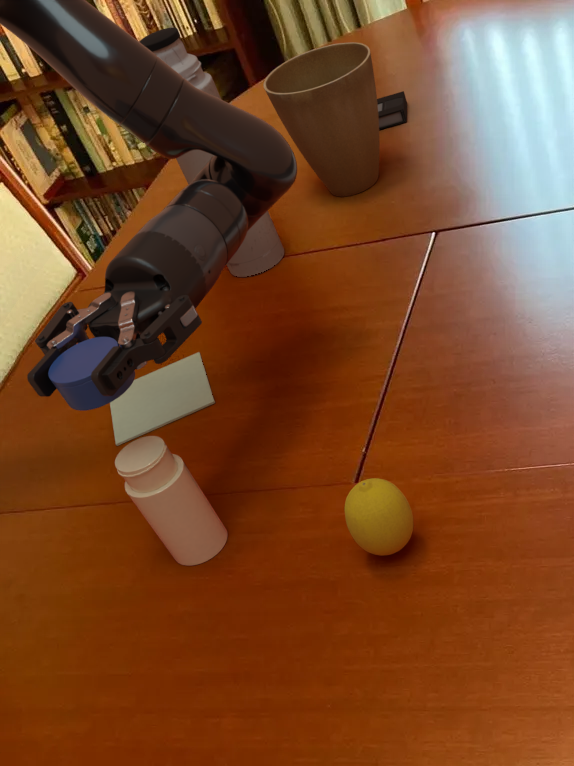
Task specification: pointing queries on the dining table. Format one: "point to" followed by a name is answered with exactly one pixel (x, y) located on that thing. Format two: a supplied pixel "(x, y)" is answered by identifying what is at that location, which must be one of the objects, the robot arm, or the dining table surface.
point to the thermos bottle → (262, 237)
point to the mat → (161, 398)
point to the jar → (171, 500)
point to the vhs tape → (392, 110)
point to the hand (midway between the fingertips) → (67, 387)
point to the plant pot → (331, 113)
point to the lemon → (378, 516)
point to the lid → (84, 374)
